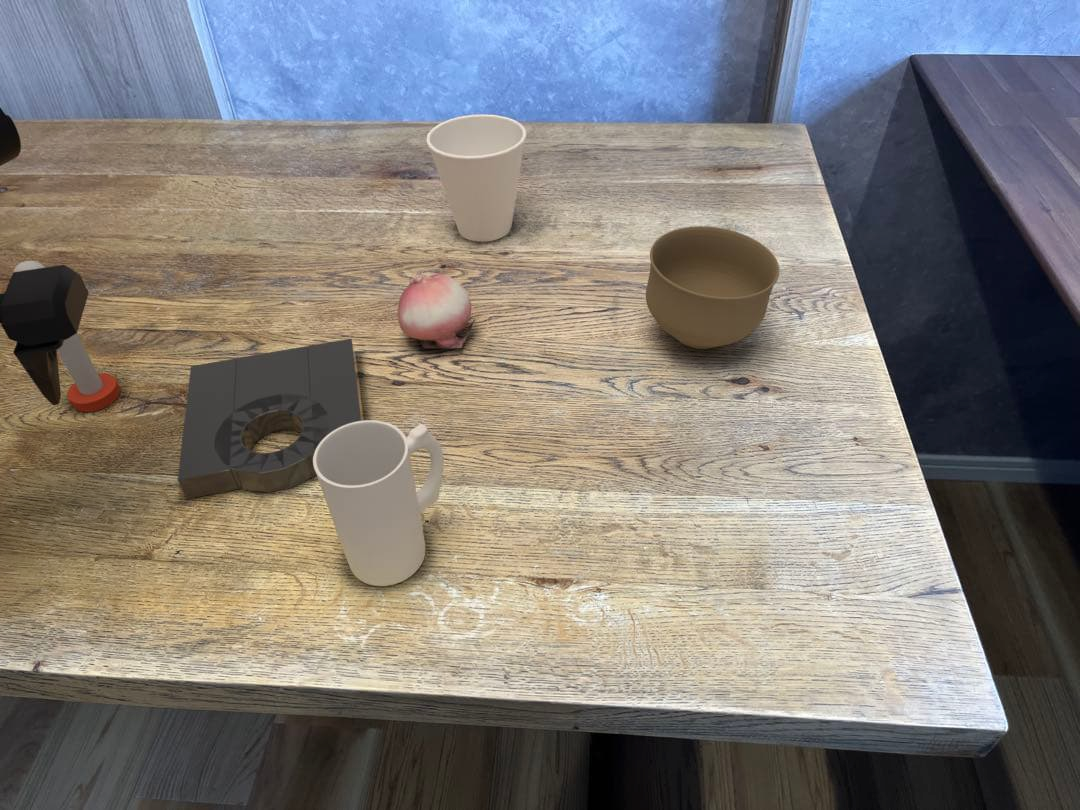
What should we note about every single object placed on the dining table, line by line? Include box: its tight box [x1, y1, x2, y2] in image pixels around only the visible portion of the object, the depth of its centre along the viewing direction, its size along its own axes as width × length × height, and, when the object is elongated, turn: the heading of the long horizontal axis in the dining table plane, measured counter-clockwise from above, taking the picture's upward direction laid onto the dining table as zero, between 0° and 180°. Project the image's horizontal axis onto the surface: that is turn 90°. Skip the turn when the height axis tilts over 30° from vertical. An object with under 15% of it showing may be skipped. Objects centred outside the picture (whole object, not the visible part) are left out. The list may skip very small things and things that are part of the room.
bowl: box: [645, 225, 781, 350], centre depth 83 cm, size 13×13×10 cm
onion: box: [397, 272, 477, 349], centre depth 85 cm, size 8×8×7 cm
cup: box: [425, 113, 527, 243], centre depth 100 cm, size 12×12×12 cm
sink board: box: [177, 338, 365, 500], centre depth 77 cm, size 16×17×2 cm
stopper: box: [13, 260, 121, 413], centre depth 77 cm, size 5×5×16 cm
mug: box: [313, 419, 445, 587], centre depth 63 cm, size 10×7×12 cm, turn 133°
